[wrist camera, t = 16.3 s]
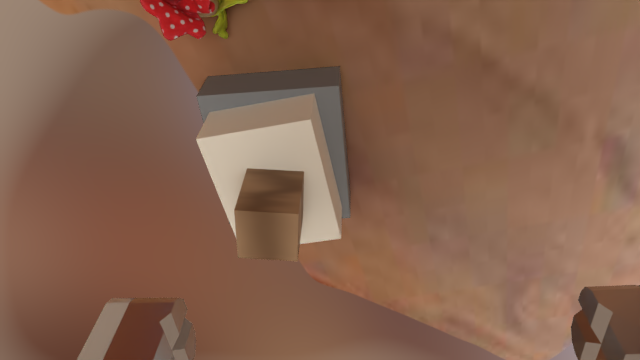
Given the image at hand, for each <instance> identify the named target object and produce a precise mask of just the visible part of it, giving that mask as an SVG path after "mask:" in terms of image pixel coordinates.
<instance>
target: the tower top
mask: <svg viewBox="0 0 640 360" xmlns="http://www.w3.org/2000/svg"><path fill="white" fill-rule="evenodd" d="M196 141H197V143H198V146H199V148H200V150H201V153H202V156H203V158H204V160H205V163H206V165H207V168H208V170H209V173H210V175H211V177H212V180H213V183H214V185H215V187H216V190H217V192H218V195H219V197H220V200H221V202H222V204H223V207H224V210H225V212H226V214H227V217H228V219H229V222H230V224H231V227H232V229H233V232H234V234H235V236H236V228H235V215H234V209H235V206H236V203H237V199H238V196H239V193H240V190H241V186H242V183H243V180H244V177H245V173H246V170H247V168H252V169H269V170H287V171H304V199H303V221H302V229H301V238H300V244H304V243H311V242H319V241H326V240H334V239H341V227H342V205H341V201H340V196H339V192H338V188H337V184H336V180H335V176H334V172H333V168H332V164H331V160H330V156H329V152H328V147H327V143H326V139H325V135H324V131H323V127H322V123H321V119H320V115H319V111H318V107H317V103H316V99H315V94H314V93H313V94H308V95H302V96H297V97H291V98H286V99H280V100H275V101H269V102H264V103H258V104H253V105H247V106H242V107H236V108H231V109H225V110H220V111H214V112H209V114H208V116H207V118H206V120H205V122H204V124H203V126H202V128H201V130H200V132H199V134H198V136H197V138H196Z"/></svg>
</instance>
